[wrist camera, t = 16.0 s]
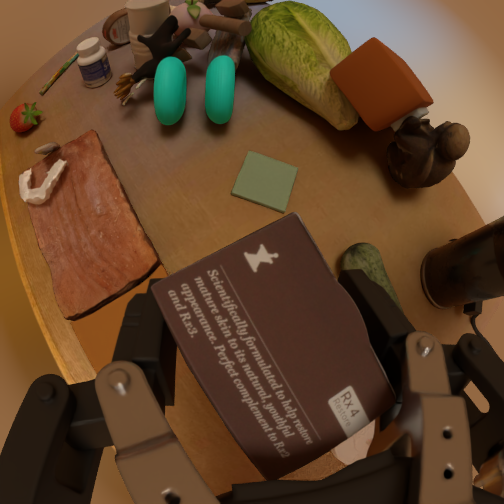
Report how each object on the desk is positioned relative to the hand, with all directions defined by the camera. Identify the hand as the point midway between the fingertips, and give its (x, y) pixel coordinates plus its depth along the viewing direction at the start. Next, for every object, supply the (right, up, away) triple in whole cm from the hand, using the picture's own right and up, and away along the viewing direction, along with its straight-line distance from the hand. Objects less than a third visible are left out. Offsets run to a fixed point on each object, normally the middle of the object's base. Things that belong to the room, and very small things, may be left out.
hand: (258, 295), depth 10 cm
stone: (-7, +38, +32) cm, 50 cm away
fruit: (-43, +25, +23) cm, 55 cm away
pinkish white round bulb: (-13, +44, +33) cm, 56 cm away
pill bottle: (-28, +33, +28) cm, 52 cm away
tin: (-24, +47, +33) cm, 62 cm away
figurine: (-10, +33, +18) cm, 39 cm away
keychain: (-29, +15, +19) cm, 38 cm away
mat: (+2, +11, +26) cm, 28 cm away
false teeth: (-27, +11, +16) cm, 33 cm away
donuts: (-8, +22, +28) cm, 36 cm away
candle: (-17, +33, +30) cm, 48 cm away
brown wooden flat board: (-20, +3, +21) cm, 29 cm away
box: (-1, -4, +8) cm, 9 cm away
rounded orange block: (+18, +31, +24) cm, 43 cm away
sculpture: (+23, +14, +30) cm, 40 cm away
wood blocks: (-13, +34, +25) cm, 44 cm away
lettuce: (+8, +29, +32) cm, 44 cm away
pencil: (-35, +48, +31) cm, 67 cm away
